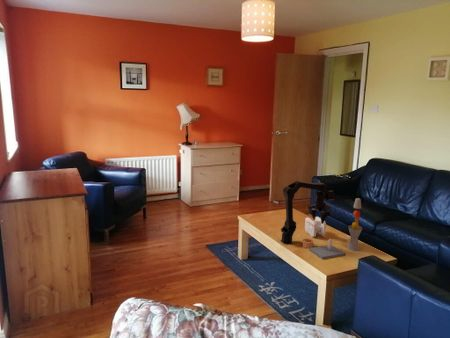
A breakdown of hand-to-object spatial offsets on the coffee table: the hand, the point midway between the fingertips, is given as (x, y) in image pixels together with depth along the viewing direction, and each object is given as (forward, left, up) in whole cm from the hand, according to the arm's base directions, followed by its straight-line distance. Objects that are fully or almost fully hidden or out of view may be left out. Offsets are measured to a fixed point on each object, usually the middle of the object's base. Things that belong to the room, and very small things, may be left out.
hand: (318, 221), depth 252 cm
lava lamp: (+14, -22, -14) cm, 29 cm away
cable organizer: (+4, +8, -14) cm, 16 cm away
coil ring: (-14, -9, -13) cm, 21 cm away
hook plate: (-8, -22, -13) cm, 27 cm away
